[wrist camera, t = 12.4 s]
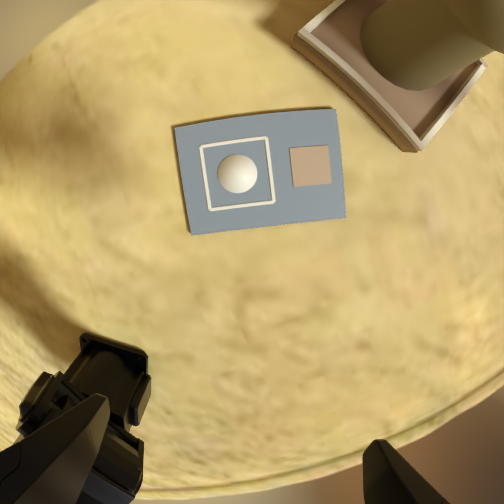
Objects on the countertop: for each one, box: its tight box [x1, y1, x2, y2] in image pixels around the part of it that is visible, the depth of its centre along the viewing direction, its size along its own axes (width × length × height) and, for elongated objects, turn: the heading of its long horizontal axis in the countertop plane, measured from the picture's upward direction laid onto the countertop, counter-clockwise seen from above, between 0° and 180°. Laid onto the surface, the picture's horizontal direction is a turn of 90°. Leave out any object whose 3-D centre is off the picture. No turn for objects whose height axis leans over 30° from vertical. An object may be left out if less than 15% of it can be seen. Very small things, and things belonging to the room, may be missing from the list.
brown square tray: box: [291, 0, 487, 153], centre depth 14 cm, size 10×10×3 cm
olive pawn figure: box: [360, 0, 504, 91], centre depth 8 cm, size 6×6×11 cm
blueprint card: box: [175, 109, 346, 236], centre depth 18 cm, size 10×7×1 cm
